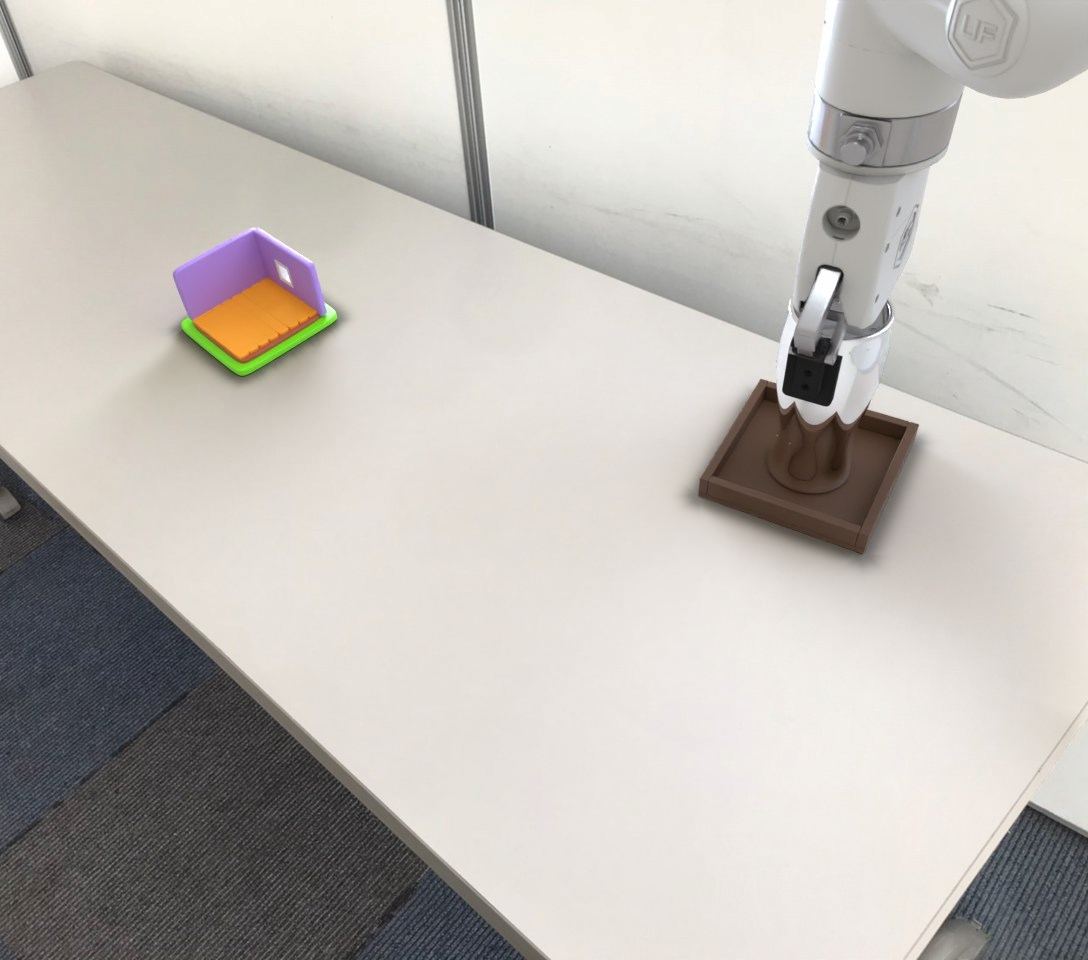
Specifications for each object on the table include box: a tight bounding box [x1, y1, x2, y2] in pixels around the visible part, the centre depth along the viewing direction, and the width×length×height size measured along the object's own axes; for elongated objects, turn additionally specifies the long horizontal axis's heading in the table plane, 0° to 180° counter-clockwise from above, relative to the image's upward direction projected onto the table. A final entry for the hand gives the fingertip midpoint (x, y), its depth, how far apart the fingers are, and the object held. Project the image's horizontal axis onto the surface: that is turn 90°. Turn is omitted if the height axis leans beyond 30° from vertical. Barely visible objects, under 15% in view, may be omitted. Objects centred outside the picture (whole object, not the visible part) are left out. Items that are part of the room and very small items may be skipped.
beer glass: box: [767, 295, 896, 494], centre depth 69 cm, size 7×7×15 cm
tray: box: [697, 378, 920, 555], centre depth 74 cm, size 12×12×2 cm
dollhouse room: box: [172, 227, 338, 377], centre depth 94 cm, size 12×12×7 cm
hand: (831, 354), depth 67 cm, fingers open, 9 cm apart
